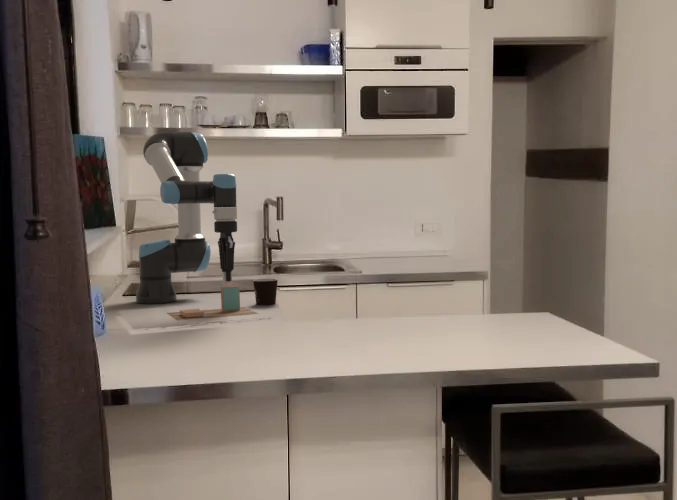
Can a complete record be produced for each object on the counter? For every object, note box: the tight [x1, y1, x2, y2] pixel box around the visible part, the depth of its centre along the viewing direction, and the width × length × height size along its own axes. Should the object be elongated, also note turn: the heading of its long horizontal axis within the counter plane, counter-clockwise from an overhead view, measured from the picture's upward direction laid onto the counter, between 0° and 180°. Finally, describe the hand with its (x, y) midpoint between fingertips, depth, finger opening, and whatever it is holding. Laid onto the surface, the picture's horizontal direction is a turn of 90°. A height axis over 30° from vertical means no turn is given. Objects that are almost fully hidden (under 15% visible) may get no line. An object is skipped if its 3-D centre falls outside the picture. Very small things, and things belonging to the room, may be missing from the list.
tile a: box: [179, 308, 204, 318], centre depth 225 cm, size 2×6×8 cm
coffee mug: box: [252, 278, 278, 306], centre depth 251 cm, size 12×9×10 cm
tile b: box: [220, 285, 241, 311], centre depth 235 cm, size 2×6×8 cm, turn 114°
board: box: [166, 306, 259, 325], centre depth 230 cm, size 17×26×2 cm, turn 114°
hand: (227, 290), depth 238 cm, fingers closed
